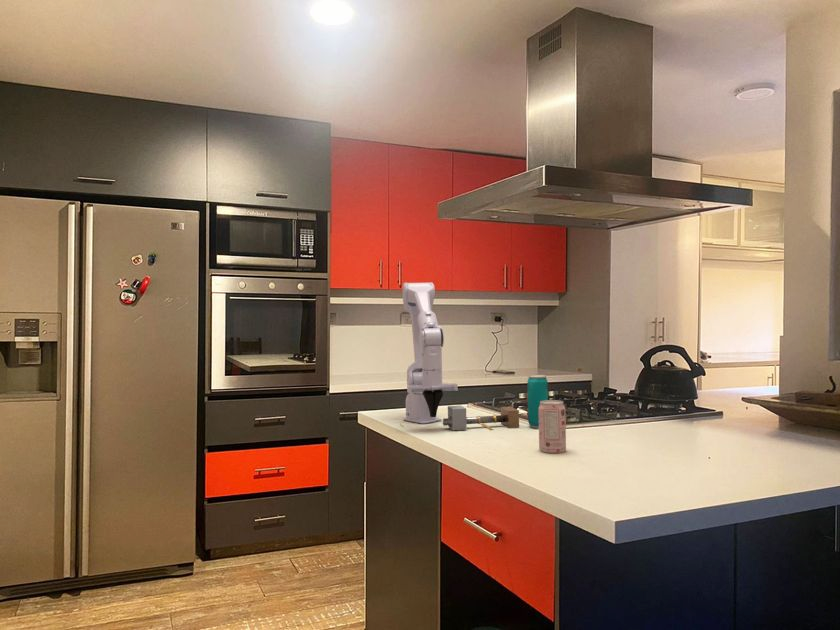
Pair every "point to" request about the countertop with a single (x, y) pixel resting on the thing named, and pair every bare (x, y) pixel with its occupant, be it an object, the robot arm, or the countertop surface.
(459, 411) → the sleeve
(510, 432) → the countertop surface
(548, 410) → the beverage can
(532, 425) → the beverage can
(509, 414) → the pipe rig
